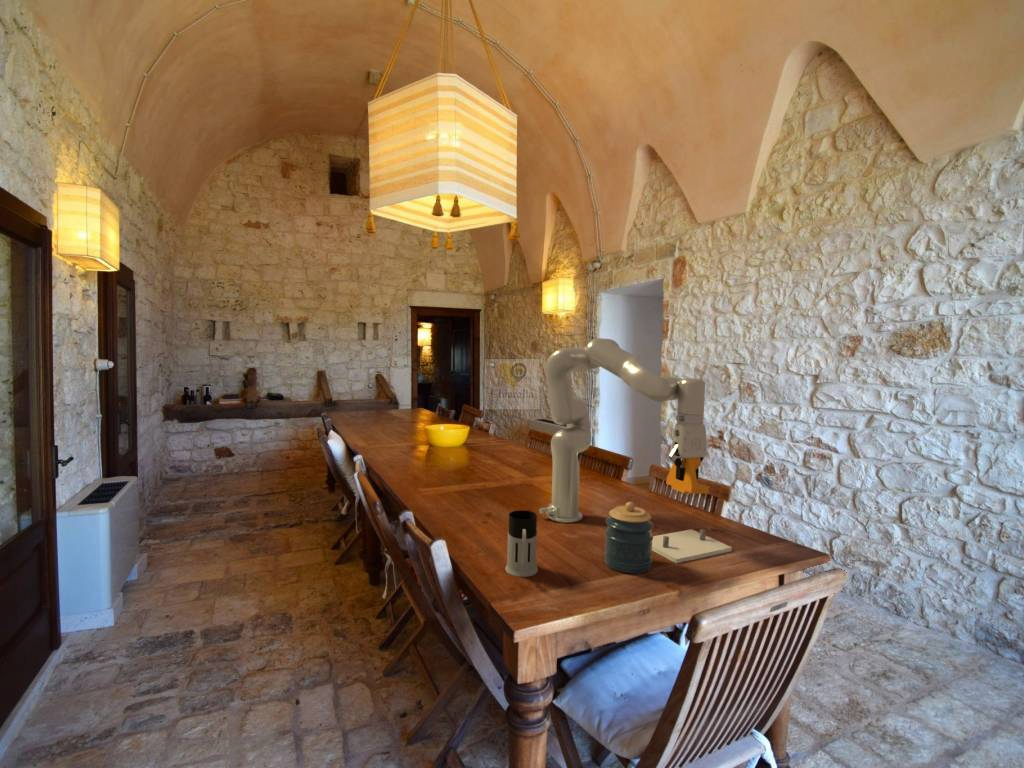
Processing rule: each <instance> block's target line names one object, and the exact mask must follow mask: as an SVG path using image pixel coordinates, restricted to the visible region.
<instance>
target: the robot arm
mask: <svg viewBox="0 0 1024 768" xmlns="http://www.w3.org/2000/svg"><path fill="white" fill-rule="evenodd" d="M545 363H546V364H545V368H544V369H545V370H544V371H545V378H546V383H547V390H548V391H547V392H548V399H549V400H548V401H549V408H550V416H551V420H552V421H553V423H554V424H556V425H559V426H566V428H562V429H560V430H558V431H556V432H555V433H554V434H553V436H552V437H551V439H550V452H551V458H552V459H551V460H552V461H551V462H552V469H551V471H552V475H551V477H552V478H551V479H552V483H551V503H548V506H547V507H540V508H539V509H538V511H539V514H540V515H541V514H546V516H547V518H548V519H549V520H552V521H554V522H558V523H567V524H568V523H576V522H580V521H582V519H583V513H582V512H581V511H579V500H580V496H579V495H580V493H579V492H580V462H579V457H578V454H579V453H583V452H585V451H586V450H588V449H589V448H590V446H591V444H592V430H591V429H592V428H591V422H590V415H589V410H588V406H587V404H586V402H585V401H584V400H583V399H582V398H580V397H577V396H574V392H573V385H572V382H571V380H570V377H569V373H581V372H586V371H590V370H593V369H597V368H602V369H604V370H605V371H608V372H609V373H611V374H612V375H614V376H616V377H618V378H620V379H621V380H622V382H624V383H625V384H626V386H628V387H630V389H632V390H634V391H636V392H637V393H638V394H641V395H642V396H644V397H646V398H648V399H649V400H651V401H653V402H657V403H662V402H669V401H677V407H676V408H677V410H676V412H677V413H676V416H675V421H676V423H675V425H674V430H673V435H672V443H671V451H670V453H669V454H668V459H670V460H671V461H672V464H673V463H674V464H675V466H676V479H678V480H681V481H684V474H685V468H684V465H685V461H686V459H689V458H699V457H700V460H701V463H702V462H703V460H704V459H705V457H707V455H708V453H707V452H708V451H707V450H708V448H707V447H708V446H707V445H708V441H707V440H708V438H707V429H706V424H704V419H705V418H704V416H705V400H706V399H705V397H706V396H705V395H706V382H705V380H704V379H701V378H694V377H693V378H689V377H688V378H687V377H685V378H684V377H683V378H681V377H675V376H670V375H669V376H667V375H666V376H660V375H657V374H656V373H654V372H652V371H650V369H649V370H648V369H647V368H646V367H644V366H642V365H641V364H640V363H639V362H638V358H637V357H636V356H635V355H634V354H632V353H630V352H628V351H626V350H624V349H622V348H621V347H620V345H619V343H618V342H616V341H615V340H613V339H610V338H600V337H599V338H598V337H597V338H593V339H592V340H590V341H589V342H588V343H587V345H586V346H583V347H581V348H579V347H578V348H577V347H575V348H574V347H563V348H560V349H556V350H555V351H554V352H552V353H551V354H550V356H549V357H548V359H547V361H546V362H545ZM680 459H681V462H680ZM701 463H700V466H701V465H702V464H701ZM699 474H700V467H699V468H698V469H696V478H697V480H699Z"/></svg>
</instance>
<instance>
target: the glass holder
mask: <svg viewBox="0 0 1024 768" xmlns="http://www.w3.org/2000/svg"><path fill="white" fill-rule="evenodd" d="M537 521H538V515H537V513H536V512H534V511H531V510H520V509H519V510H514V511H511V512H509V513H508V529H507V554H506V557H507V558H506V559H507V561H506V566H505V568H504V570H505V572H506V573H507V574H509V575H510V574H511V576H513V575H514V577H518V576H519V578H527V577H531V576H534V575H535V574H537V573H538V566H537V555H538V554H537V550H538V549H537V546H538V530H537V527H538V526H537V525H538V522H537Z"/></svg>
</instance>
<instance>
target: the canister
mask: <svg viewBox="0 0 1024 768" xmlns="http://www.w3.org/2000/svg"><path fill="white" fill-rule="evenodd" d="M608 515H609V516H608V517H607V518H606V519H605V524H606V525H607V528H606V530H605V532H604V535H605V549H604V554H603V555H604V556H603V557H604V563H605V564H606V565H607V566H608V567H609V568H610V569H612V570H614V571H618V572H620V573H621V572H622V573H625V574H643V573H646V572H648V571H649V570H651V568H652V564H653V555H652V554H653V550H652V540H653V534H652V530H653V528H654V523H653V522H652V521H651V519H652V515H650V513H649V512H647V511H646V510H645V509H643V508H641V507H638V506H636V505H635V503H634V502H633V501H628V502H626V503H625V505H619V506H615V507H614V508H613V509H611V510H610V511H609V512H608Z"/></svg>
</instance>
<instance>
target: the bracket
mask: <svg viewBox="0 0 1024 768" xmlns="http://www.w3.org/2000/svg"><path fill="white" fill-rule="evenodd" d="M680 462H681V459H680ZM700 463H702V462H701V460H700V457H699V458H689V459H686V461H685V465H684V468H685V474H684V481H681V480H678V479H676V466H675V464H674V463H673V462H672V465H671V468H670V470H669V472H668V474H667V476H666V482H665V484H666V485H669V486H671V489H672V490H675V491H677V492H680V493H682V494H691V495H693V494H694V495H703V494H704V495H705V494H706V495H707V494H709V492H710V491H709V490H710V486H708V485H705V484H701V483H699V482H698V479H697V478H696V469H698V468H699V469H700V467H701V465H700Z"/></svg>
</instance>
